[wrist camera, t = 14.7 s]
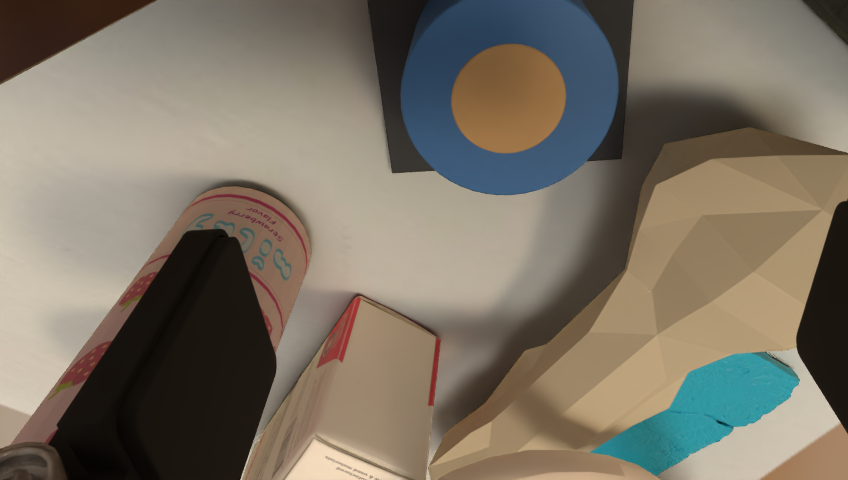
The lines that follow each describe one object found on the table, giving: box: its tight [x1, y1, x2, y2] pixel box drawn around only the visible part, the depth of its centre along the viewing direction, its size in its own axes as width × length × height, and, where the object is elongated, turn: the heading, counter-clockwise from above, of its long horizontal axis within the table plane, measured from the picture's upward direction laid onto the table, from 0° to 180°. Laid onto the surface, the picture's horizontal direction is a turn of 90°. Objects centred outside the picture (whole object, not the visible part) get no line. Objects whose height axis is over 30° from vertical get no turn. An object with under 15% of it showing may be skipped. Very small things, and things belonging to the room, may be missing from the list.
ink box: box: [242, 296, 441, 480], centre depth 29 cm, size 9×5×12 cm
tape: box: [400, 0, 619, 195], centre depth 20 cm, size 6×6×5 cm
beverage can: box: [11, 186, 311, 445], centre depth 21 cm, size 6×6×15 cm
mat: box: [368, 0, 634, 173], centre depth 22 cm, size 9×9×1 cm
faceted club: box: [428, 127, 848, 480], centre depth 26 cm, size 9×8×25 cm
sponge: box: [590, 352, 800, 476], centre depth 32 cm, size 2×12×6 cm
